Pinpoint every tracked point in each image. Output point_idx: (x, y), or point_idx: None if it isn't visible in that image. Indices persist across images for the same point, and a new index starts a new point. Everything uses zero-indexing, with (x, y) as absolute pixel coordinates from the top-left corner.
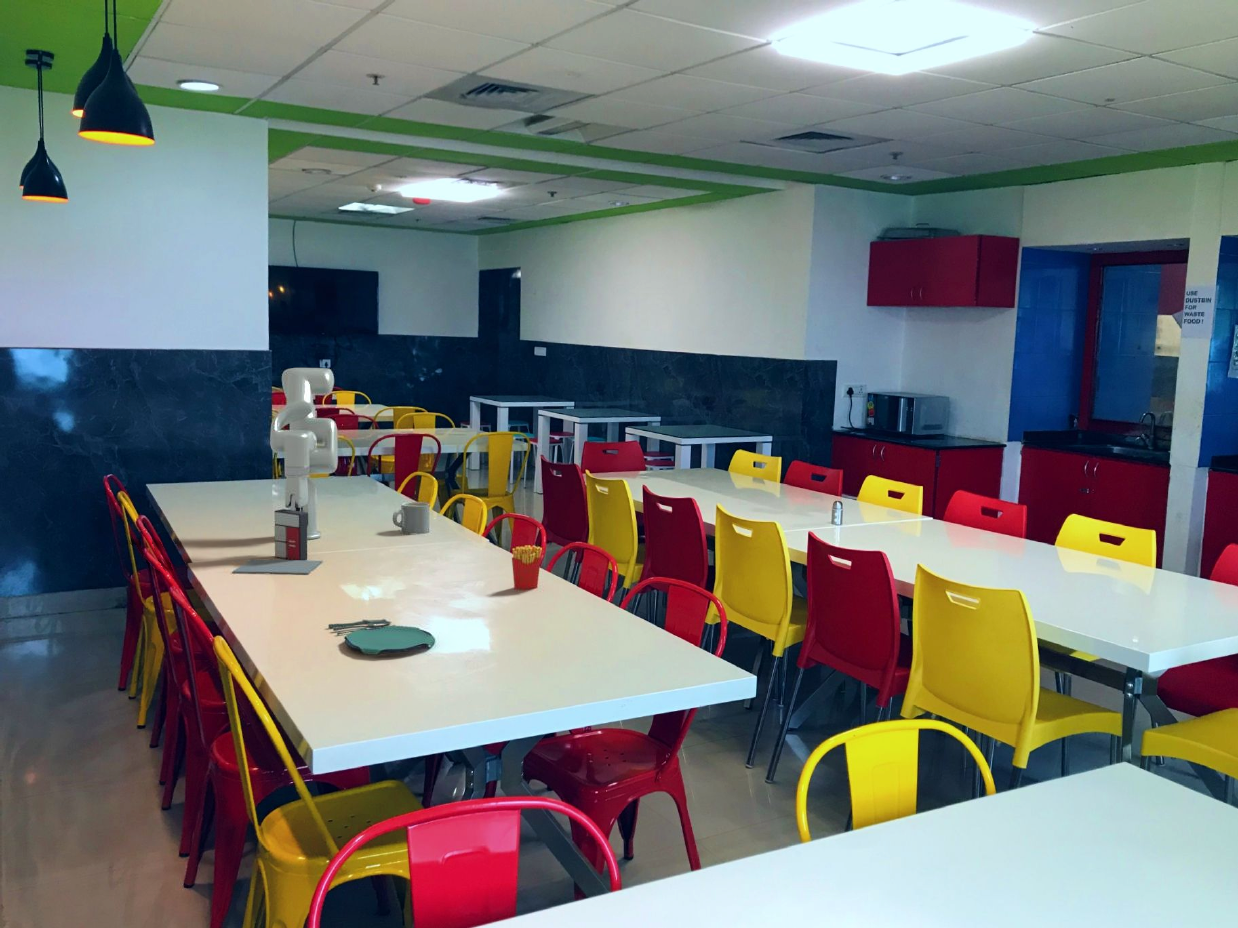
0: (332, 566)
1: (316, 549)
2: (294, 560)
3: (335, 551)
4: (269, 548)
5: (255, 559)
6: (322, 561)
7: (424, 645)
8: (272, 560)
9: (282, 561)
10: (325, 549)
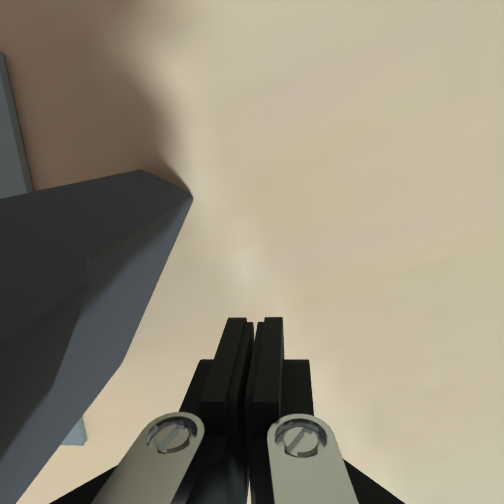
0: (28, 489)
1: (398, 341)
2: None
3: (348, 446)
4: (419, 9)
5: (3, 83)
6: (84, 443)
7: None
8: None
9: None
10: (400, 388)
